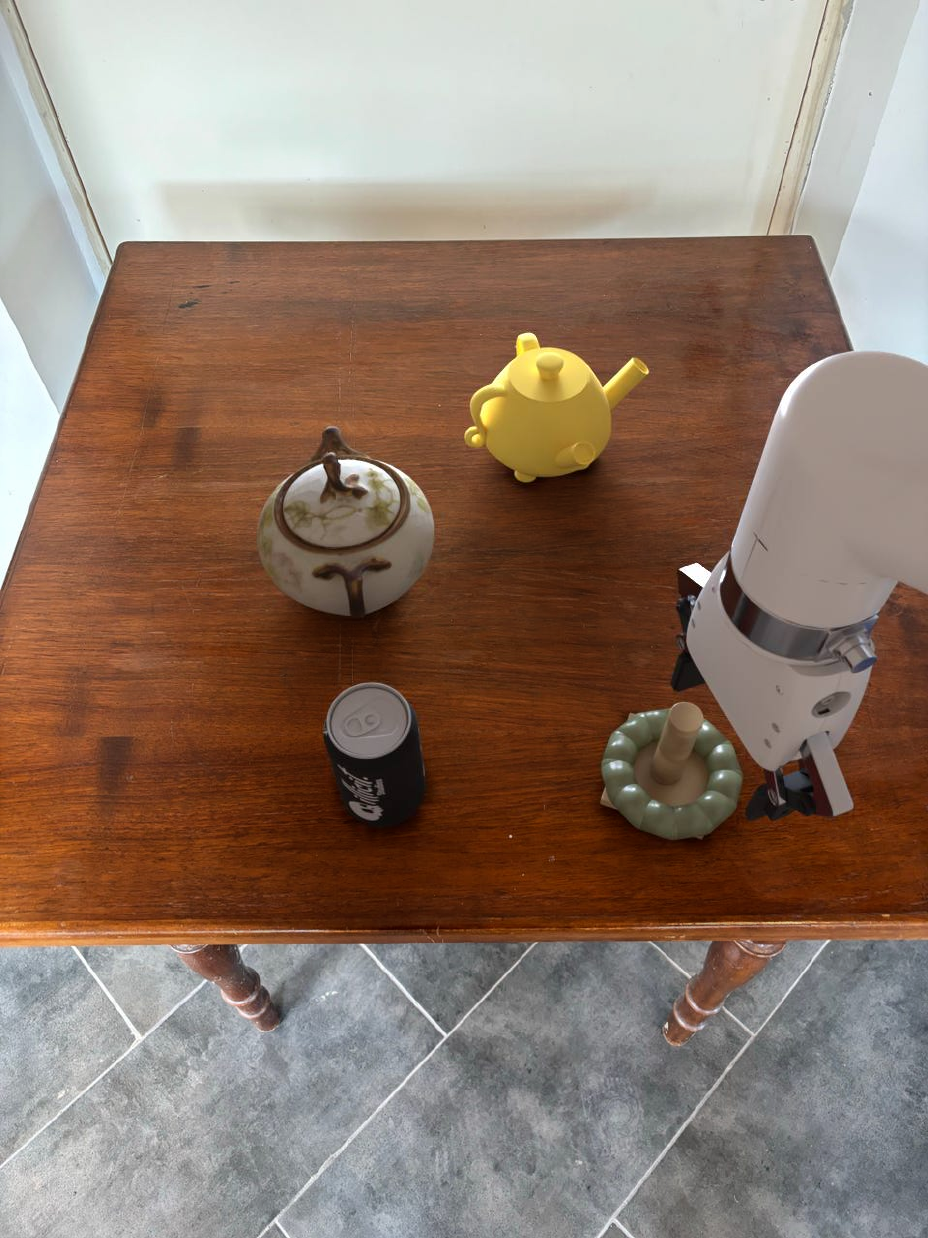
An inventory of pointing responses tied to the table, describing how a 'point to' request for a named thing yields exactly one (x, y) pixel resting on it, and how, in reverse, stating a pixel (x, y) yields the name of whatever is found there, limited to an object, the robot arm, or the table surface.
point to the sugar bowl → (345, 531)
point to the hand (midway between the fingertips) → (728, 743)
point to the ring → (657, 814)
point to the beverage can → (376, 754)
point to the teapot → (547, 411)
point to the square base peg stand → (672, 761)
